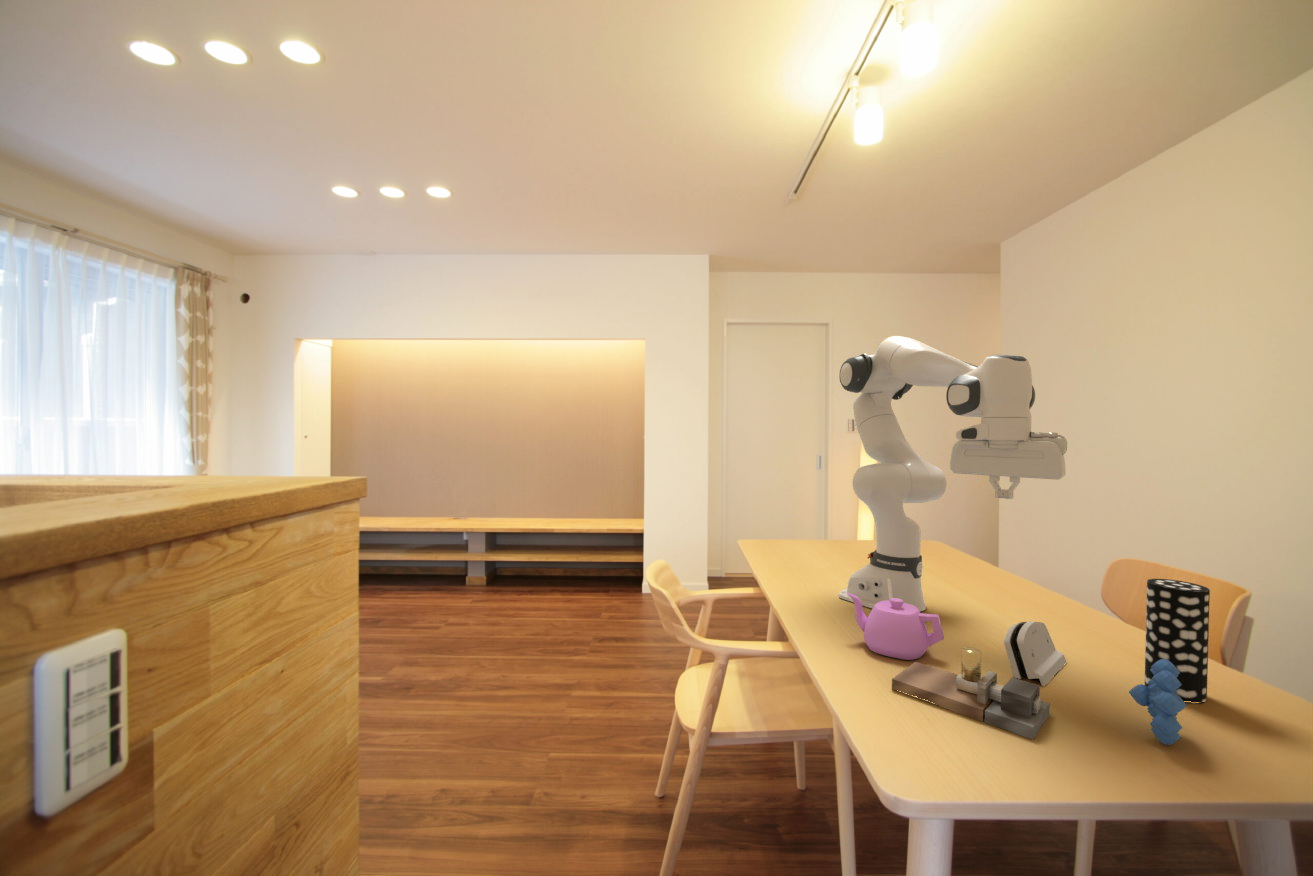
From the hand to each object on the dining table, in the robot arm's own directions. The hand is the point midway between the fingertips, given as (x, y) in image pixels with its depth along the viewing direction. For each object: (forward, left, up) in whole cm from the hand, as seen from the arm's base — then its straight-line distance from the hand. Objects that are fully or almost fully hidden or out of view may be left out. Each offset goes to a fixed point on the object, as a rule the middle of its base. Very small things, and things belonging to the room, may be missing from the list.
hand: (1004, 498), depth 113 cm
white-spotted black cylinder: (+26, +8, -34) cm, 44 cm away
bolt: (+6, -24, -32) cm, 40 cm away
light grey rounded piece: (+6, +1, -34) cm, 35 cm away
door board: (+1, -24, -34) cm, 42 cm away
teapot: (-18, -11, -34) cm, 40 cm away
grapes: (+25, -14, -34) cm, 45 cm away
